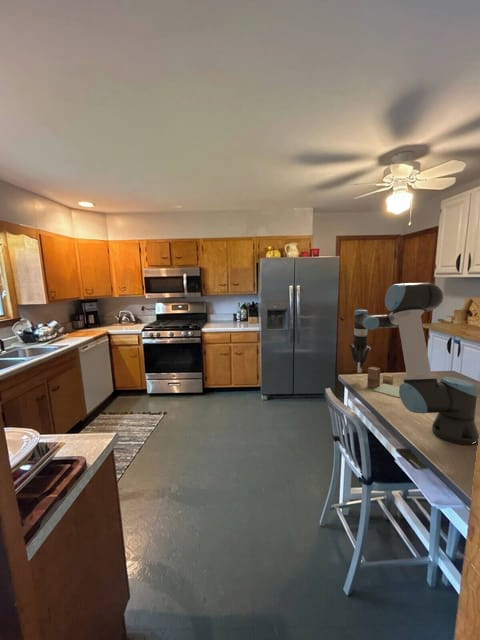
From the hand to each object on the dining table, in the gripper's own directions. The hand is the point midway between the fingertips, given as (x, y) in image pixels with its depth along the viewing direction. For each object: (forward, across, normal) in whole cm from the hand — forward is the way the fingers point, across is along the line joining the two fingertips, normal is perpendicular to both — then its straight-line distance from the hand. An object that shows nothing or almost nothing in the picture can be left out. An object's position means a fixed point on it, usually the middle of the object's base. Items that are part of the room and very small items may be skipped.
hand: (359, 372), depth 175 cm
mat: (+6, -19, 0) cm, 20 cm away
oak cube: (+7, -12, -12) cm, 18 cm away
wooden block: (+6, -9, 0) cm, 11 cm away
